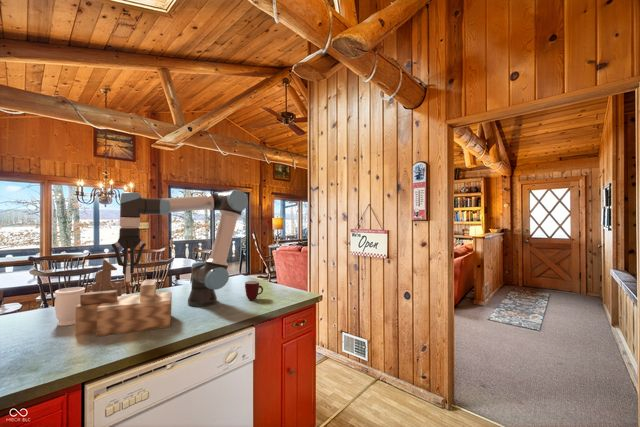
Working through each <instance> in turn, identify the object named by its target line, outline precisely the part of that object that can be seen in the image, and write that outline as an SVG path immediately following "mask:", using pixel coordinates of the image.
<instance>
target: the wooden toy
mask: <svg viewBox="0 0 640 427" xmlns="http://www.w3.org/2000/svg"><path fill="white" fill-rule="evenodd" d="M117 270H118V268H117V267H115V266H114V265H113V264H112V263H110V262H109V261H108V260H106V259H105V258H104V259H103V261H102V269H100V270H98V272H97V273H96V274H95V282H92V283H91V290H90V291H89V292H98V291H101V284H102V291H111V290H118V296H117V297H119V296H122V286H123V285H122V281H115V282H114V284H112V271H117Z"/></svg>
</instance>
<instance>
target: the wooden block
mask: <svg viewBox="0 0 640 427" xmlns="http://www.w3.org/2000/svg"><path fill="white" fill-rule="evenodd" d="M117 296H118V290H111V291H103V290H100V291H98V292H90V291H89V292H84V293H82V294H81V295H80V305H84V304H94V303H105V302H115V301H116V300H117Z"/></svg>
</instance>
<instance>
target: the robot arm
mask: <svg viewBox="0 0 640 427" xmlns="http://www.w3.org/2000/svg"><path fill="white" fill-rule="evenodd" d="M119 203H120V206H119V209H120V210H119V227H120V228H119V230H118V231H119V233H118V234H119V236H118V239H117V241H116V242H115V243H112V244H111V247H112V248H113V250H114V253H115V257H116V261H117V264H118V266H120V267H122V268H123V269H122V274H123V275H125V283H131V281H132V274H134V273H135V266H137V265H139V264H140V260H141V258H142V254H143V251H144V248H146V245H147V243H146V242H143V241H142V239H141V238H140V236H141V235H140V234H141V233H140V232H141V228H140V227H141V215H143V216H144V215H145V216H149V215H150V216H151V215H152V216H153V215H156V216H157V215H158V216H166V215H168V214H169V213H170V214H171V213H182V212H190V211H203V210H209V211H219V213H220V218H219V223H218V227H217V230H216V233H215V238H214V241H213V246H212V249H211V253H210V256H209V258H208V259H207V260H205V261H197V262H196V261H195V262H193V263H192V264H191V290H190V293H189V296H188V299H187V306H191V307H206V306H211V305H214V304H216V303H217V301H218V300H217V299H218V297H217V294H216V291H215V290H221V289H223V287H225V286H226V285H227V283H228V282H229V279H230V275H229V271H228V267H229V263H228V262H227V260H228V256H229V251H230V249H231V244H232V242H233V241H232V240H233V238H234V237H233V236H234V232H235V228H236V227H237V226H236V225H237V221H238V219H239V218H241V216H242V214H243V211H244V210H245V209H247V207H248V204H249V202H248V196H247V195H246V193H245V192H244V191H242V190H239V189H231V190H223V191H220V192H215V193H207V195H199V196H184V197H182V196H181V197H169V198H167V197H166V198H156V197H155V198H152V197H151V198H150V197H142V194H141V193H140V192H131V191H130V192H129V191H125V192H122V193H121V194H120V202H119ZM138 245H139V249H138V253H137V256H136V259H135V251H136V248H137V247H138ZM120 247H122V248H123V255H122V256H123V259H122V256H121V252H120V249H119V248H120ZM129 249H130V257H129V256H128V255H129V253H128V252H129ZM128 257H129V258H128ZM128 259H130V261H129V260H128ZM128 261H129V263H130V264H129V265H128Z"/></svg>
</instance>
